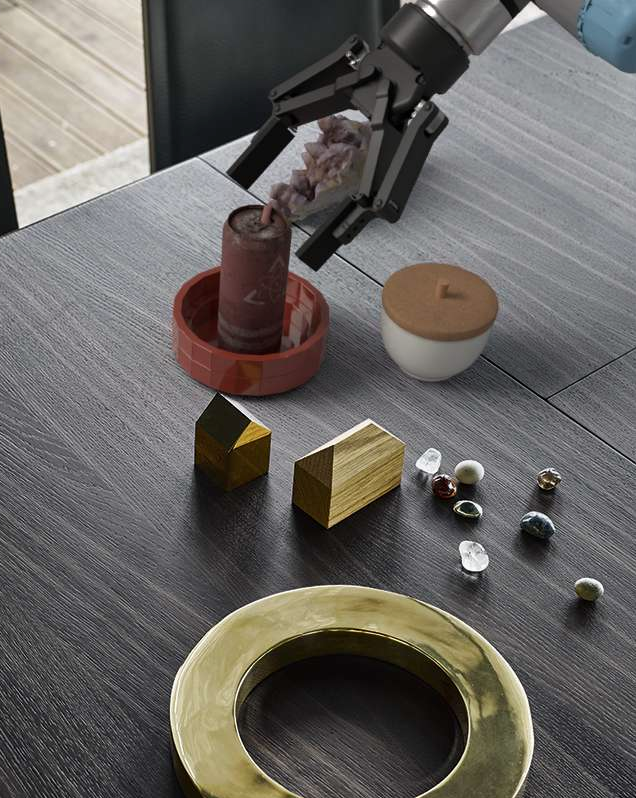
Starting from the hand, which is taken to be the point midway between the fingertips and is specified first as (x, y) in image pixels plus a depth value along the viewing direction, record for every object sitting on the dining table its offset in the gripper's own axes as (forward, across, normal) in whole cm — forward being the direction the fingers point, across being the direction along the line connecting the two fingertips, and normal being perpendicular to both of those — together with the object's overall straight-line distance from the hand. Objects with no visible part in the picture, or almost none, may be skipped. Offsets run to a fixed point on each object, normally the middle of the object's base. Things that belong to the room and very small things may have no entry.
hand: (269, 221), depth 110 cm
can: (+11, 0, -9) cm, 14 cm away
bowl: (+11, 0, -10) cm, 15 cm away
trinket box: (0, -7, -21) cm, 22 cm away
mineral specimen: (-4, +21, -25) cm, 33 cm away
